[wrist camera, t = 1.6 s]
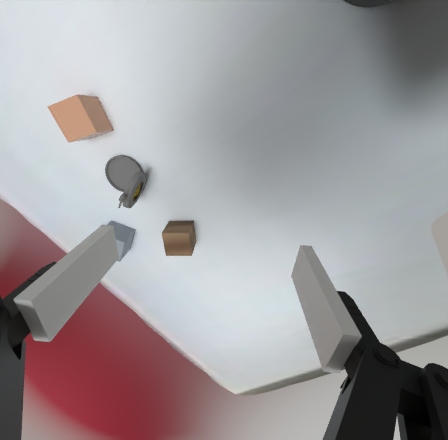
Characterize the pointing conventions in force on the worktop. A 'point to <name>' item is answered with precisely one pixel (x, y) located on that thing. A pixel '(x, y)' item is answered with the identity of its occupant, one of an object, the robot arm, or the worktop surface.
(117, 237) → the slate cube
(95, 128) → the terracotta cube
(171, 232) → the walnut cube
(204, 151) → the worktop surface
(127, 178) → the pocket watch
